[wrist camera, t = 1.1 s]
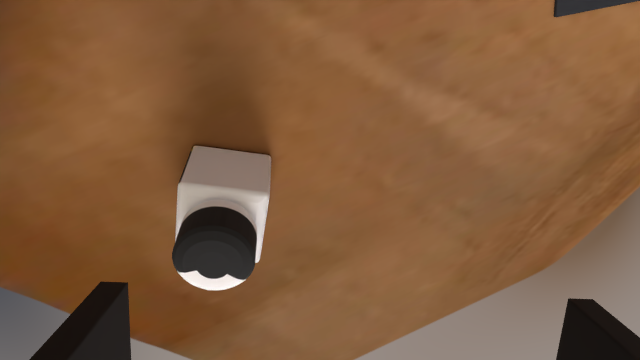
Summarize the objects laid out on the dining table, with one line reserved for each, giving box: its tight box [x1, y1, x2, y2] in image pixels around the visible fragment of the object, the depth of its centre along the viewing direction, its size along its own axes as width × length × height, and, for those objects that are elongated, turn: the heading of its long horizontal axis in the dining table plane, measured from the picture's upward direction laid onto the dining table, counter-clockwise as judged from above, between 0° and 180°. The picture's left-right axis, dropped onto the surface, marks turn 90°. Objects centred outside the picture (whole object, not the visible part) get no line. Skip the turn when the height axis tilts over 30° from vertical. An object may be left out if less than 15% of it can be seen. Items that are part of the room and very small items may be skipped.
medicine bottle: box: [172, 146, 271, 290], centre depth 40 cm, size 7×7×12 cm
